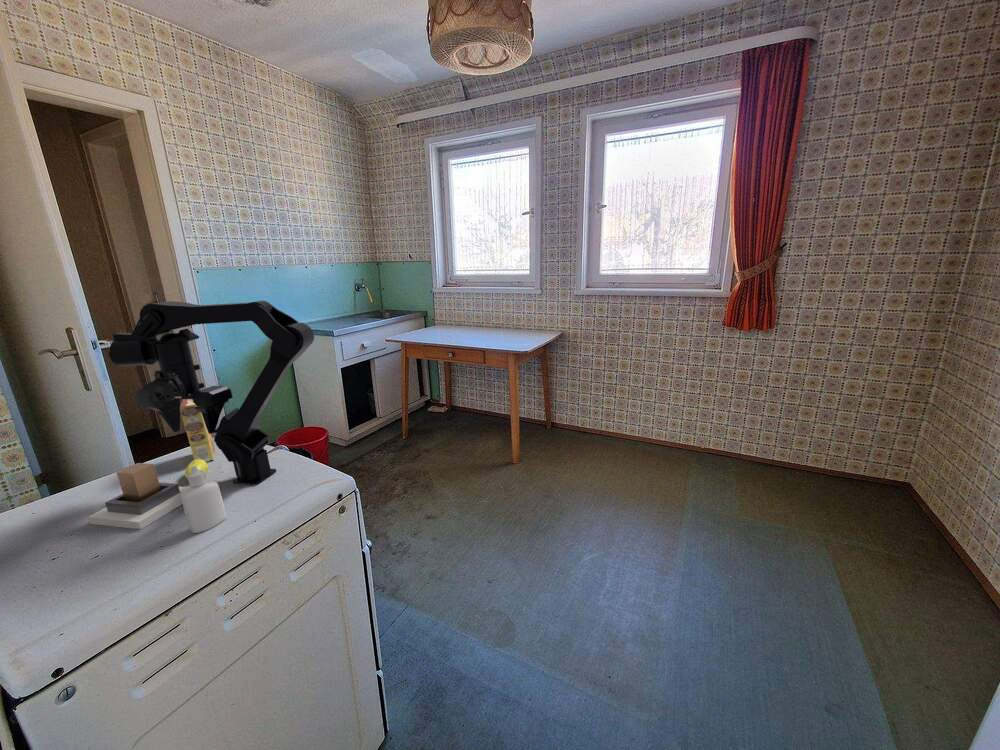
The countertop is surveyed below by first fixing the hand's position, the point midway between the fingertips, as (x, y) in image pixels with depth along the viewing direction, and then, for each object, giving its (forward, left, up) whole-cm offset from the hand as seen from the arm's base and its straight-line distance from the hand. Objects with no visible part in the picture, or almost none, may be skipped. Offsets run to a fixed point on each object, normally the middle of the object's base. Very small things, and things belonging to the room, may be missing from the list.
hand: (194, 432), depth 89 cm
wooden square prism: (+3, +11, -12) cm, 17 cm away
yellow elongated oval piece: (+4, -2, -12) cm, 13 cm away
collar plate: (+3, +11, -12) cm, 17 cm away
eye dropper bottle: (-15, +14, -12) cm, 24 cm away
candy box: (+12, -11, -12) cm, 20 cm away
